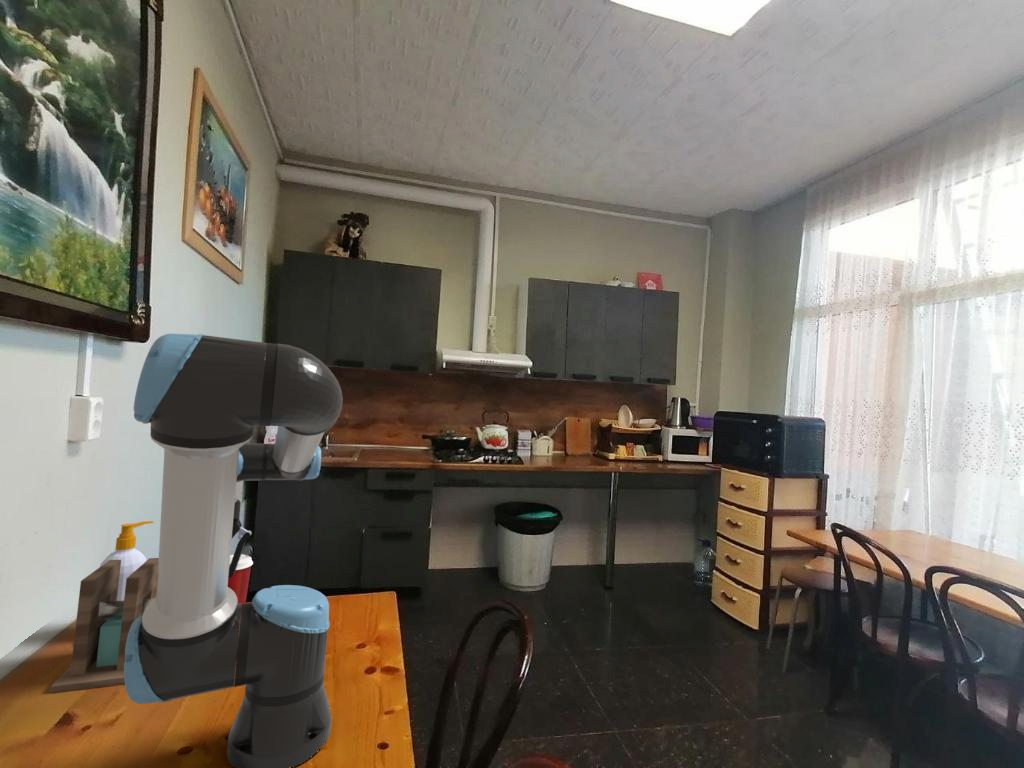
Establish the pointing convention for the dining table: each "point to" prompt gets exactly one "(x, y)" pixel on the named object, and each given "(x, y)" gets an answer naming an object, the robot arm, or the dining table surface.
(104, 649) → the spacer
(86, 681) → the block
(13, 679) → the dining table surface
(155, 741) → the dining table surface
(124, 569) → the soap bottle
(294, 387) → the robot arm
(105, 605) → the shaft
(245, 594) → the coffee cup
